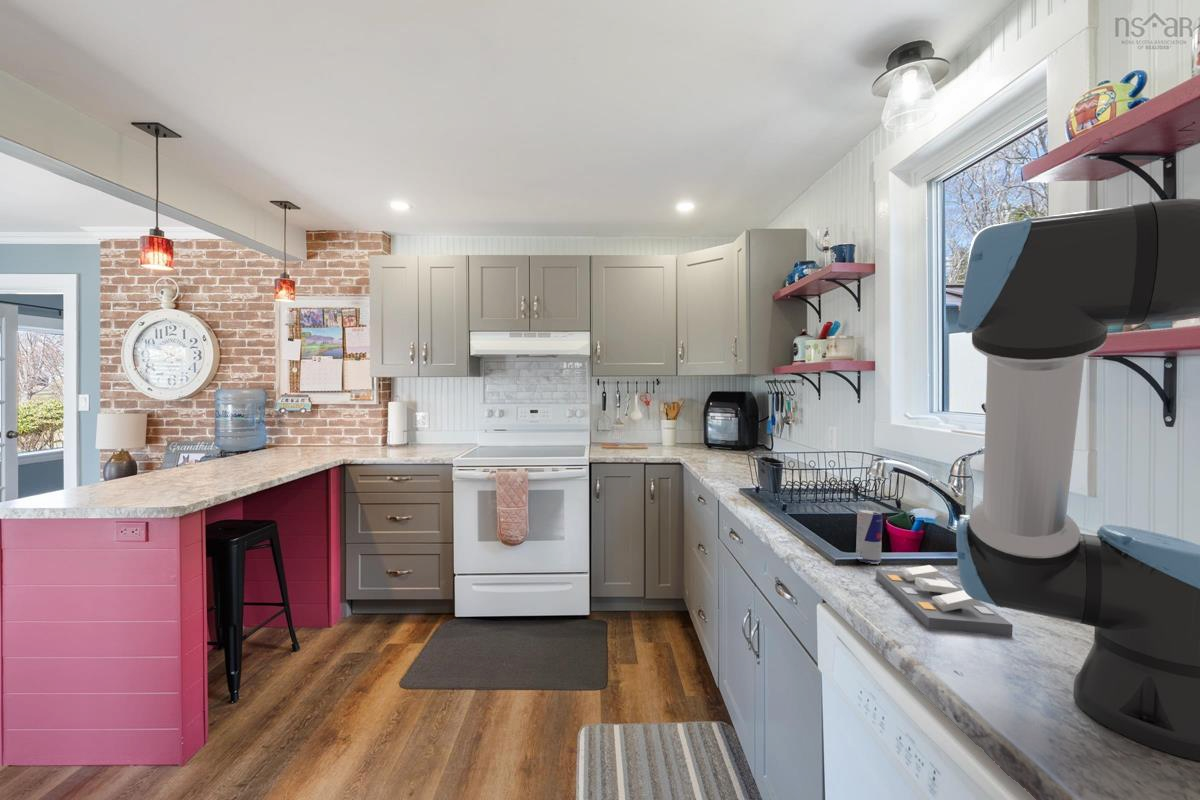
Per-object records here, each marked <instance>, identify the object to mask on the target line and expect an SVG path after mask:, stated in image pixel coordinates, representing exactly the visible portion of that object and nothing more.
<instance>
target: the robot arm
mask: <svg viewBox="0 0 1200 800" xmlns="http://www.w3.org/2000/svg"><path fill="white" fill-rule="evenodd" d="M963 283H964V284H963V289H962V296H961V300H960V308H959V312H958V319H957V325H956V327H957V328H956V329H957V330H958V331H960V332H962V333H963V332H964V333H965V334H970V333H971V344H972V346H973V348H974V349H975V350H976V351H977V352H979V353H981V354H982V355H983V356H985V357H986V358H987V359H986V388H985V389H986V391H985V392H986V393H985V402H983V403H982V404H981V407H980V408H981V409H982V410H983V413H984V414H985V421H984V423H985V425H984V426H985V427H984V431H985V432H984V452H983V453H984V456H983V457H984V459H983V461H984V462H983V482H982V483H983V485H982V486H983V490H982V493H983V494H982V502H980V503H979V504H977V505H976V506H974V508H972V510H971V511H970V512H969V513H970V514H969V515H970V516H969V517H967V518H961V519H960V518H959V519H958V522H957V525H956V537H955V538H956V546H955V547H956V554H957V564H958V568H957V569H958V575H959V578H960V580H959V581H960V584H961V588H962V589H963V590H964V591H965V592H966V593H967V595H968V596H970V597H971V598H973V599H975V600H978V601H980V602H981V603H984V604H985V603H986V604H989V605H993V606H995V607H997V608H1001V609H1002V608H1003V609H1004V608H1005V609H1010V610H1014V611H1020V612H1024V613H1030V614H1033V615H1034V614H1035V615H1039V616H1042V617H1043V616H1044V617H1046V618H1047V617H1048V618H1053V619H1058V620H1061V621H1067V622H1070V623H1071V622H1072V623H1077V624H1082V625H1086V626H1090V627H1094V635H1093V636H1094V637H1093V643H1092V646H1091V648H1090V650H1089V652H1088V654H1087V656H1086V657H1085V659H1084V662H1083V664H1082V666H1081V668H1080V671H1078V673H1077V674H1076V676H1075V677H1074V679H1073V694H1072V695H1073V699H1074V702H1075V703H1076V704H1077V706H1078V707H1079V708H1080V709H1081V710H1082V711H1083V712H1084V713H1086V714H1087V715H1088V716H1089V717H1091V718H1092V719H1094V720H1095V721H1097V722H1098V723H1100V724H1102V725H1103V726H1104V727H1107V728H1109V729H1110V730H1112V731H1114V732H1117V734H1120V735H1122V736H1124V737H1126V738H1128V739H1131V740H1133V741H1135V742H1138V743H1140V744H1143V745H1145V746H1148V747H1149V748H1153V749H1155V750H1156V749H1157V750H1159V751H1162V752H1165V753H1168V754H1170V755H1174V756H1178V757H1182V758H1186V759H1189V760H1193V761H1198V762H1200V544H1198V543H1194V542H1192V541H1188V540H1185V539H1181V538H1177V537H1174V536H1170V535H1166V534H1162V533H1157V532H1155V531H1149V530H1144V529H1141V528H1134V527H1129V526H1124V525H1120V526H1119V525H1113V524H1103V525H1101V526H1100V527H1099V529H1098V530H1097V531H1096V535H1094V534H1093V535H1092V534H1085V533H1081V530H1080V528H1079V526H1078V524H1077V523H1076V522H1075V520H1074V519H1073V518H1072V517H1071V516H1069V514H1067V511H1068V504H1069V494H1070V487H1071V486H1070V484H1071V478H1072V471H1073V469H1072V467H1073V461H1074V453H1075V451H1074V450H1075V442H1076V434H1077V425H1078V415H1079V407H1080V398H1081V392H1082V391H1081V390H1082V382H1083V373H1084V364H1085V357H1088V356H1089V355H1091V354H1093V353H1095V352H1096V351H1098V350H1100V349H1101V348H1102V347H1104V345H1105V344H1106V342H1107V337H1108V331H1109V330H1108V329H1109V327H1112V326H1113V327H1114V326H1115V327H1116V326H1126V325H1127V326H1130V325H1144V324H1147V325H1150V324H1162V323H1172V322H1180V321H1185V320H1187V321H1188V320H1190V319H1192V320H1193V319H1198V318H1200V198H1171V199H1169V198H1168V199H1162V200H1161V199H1160V200H1155V201H1149V202H1143V203H1139V204H1138V203H1137V204H1130V205H1123V206H1114V207H1108V208H1100V209H1092V210H1083V211H1077V212H1076V211H1075V212H1070V213H1069V212H1068V213H1060V214H1054V215H1045V216H1037V217H1031V216H1029V217H1024V218H1023V219H1021V220H1015V221H1010V222H1005V223H998V224H993V225H989V226H986V227H984V228H982V229H981V230H980V231H978V232H977V233H976V234H975V235H974V237H973V238H972V240H971V245H970V250H969V256H968V261H967V267H966V272H965V278H964V282H963Z"/></svg>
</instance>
